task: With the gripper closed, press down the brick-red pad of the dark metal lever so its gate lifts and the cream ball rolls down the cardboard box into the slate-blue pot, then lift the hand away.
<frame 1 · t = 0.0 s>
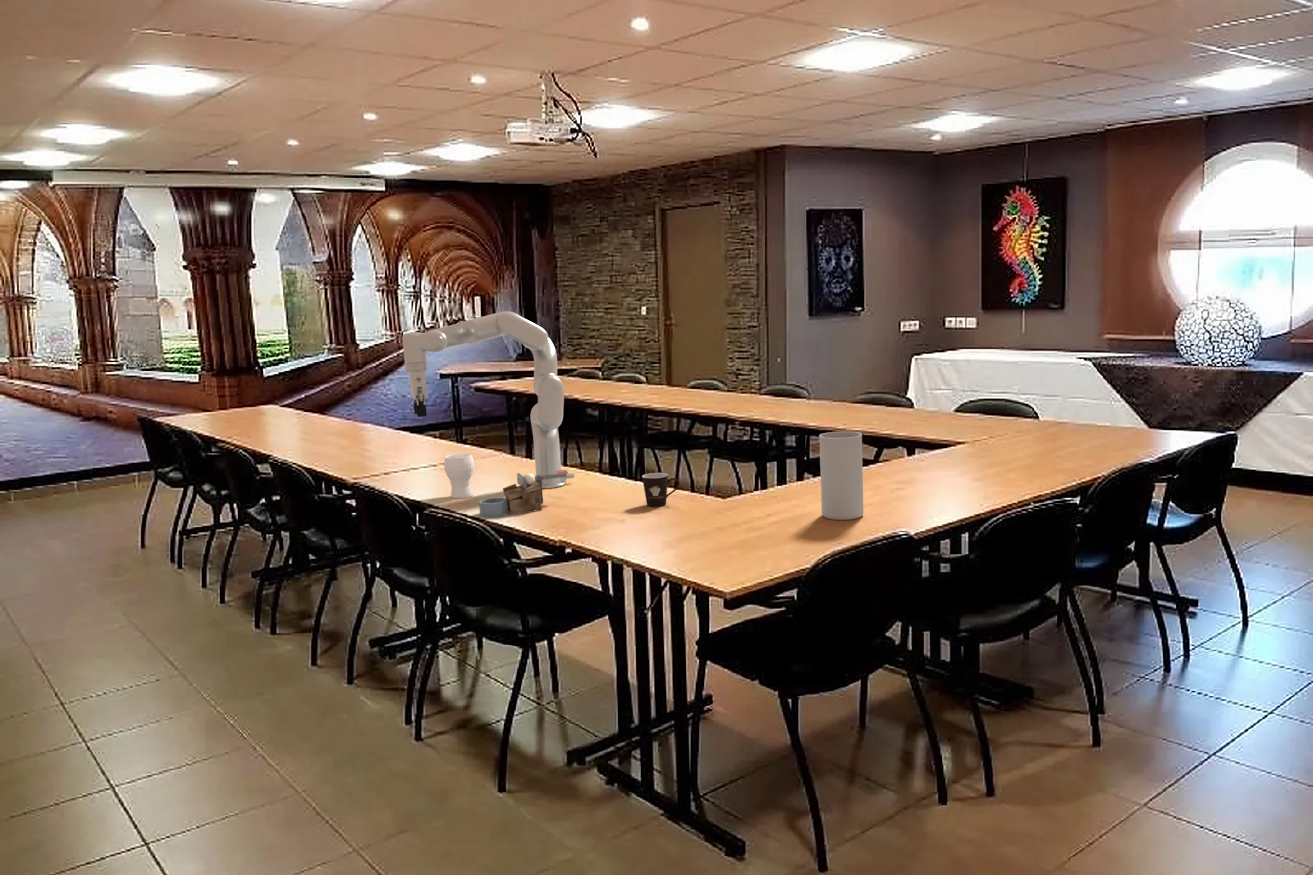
hand: (420, 415, 353), 31 cm above the table, tool pointing down, fingers open, 9 cm apart
cylinder vase: (842, 516, 300), on the table
lever: (544, 477, 335), point 10 cm above the table, hinge at 0.0°, touching ball
cup: (461, 496, 361), on the table
coffee mug: (660, 505, 328), on the table
cardboard box: (523, 510, 333), on the table
pot: (494, 513, 329), on the table
ball: (528, 479, 332), point 10 cm above the table, tilted 9°, touching lever, cardboard box
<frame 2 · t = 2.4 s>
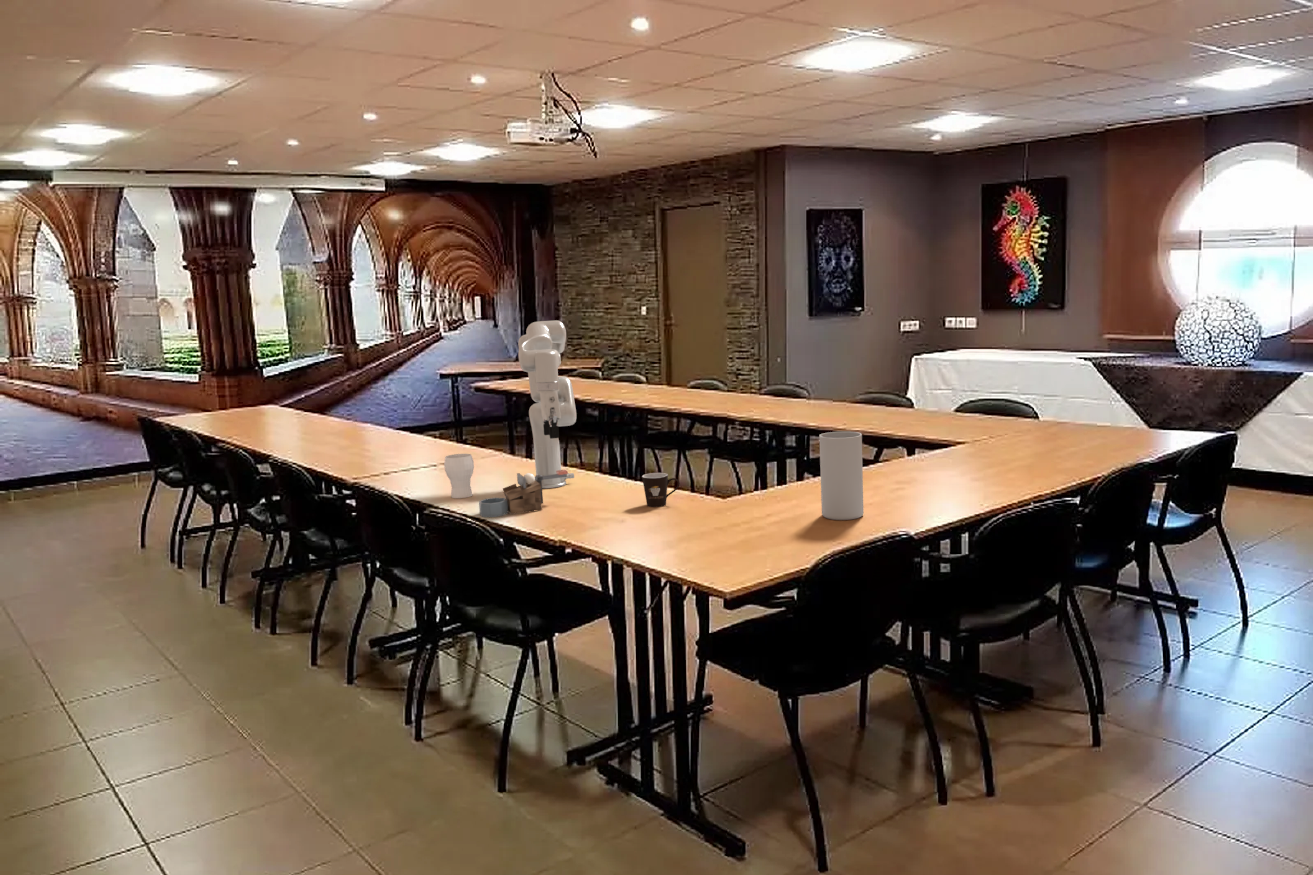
hand: (551, 436, 339), 23 cm above the table, tool pointing down, fingers open, 9 cm apart
nothing on the table moved.
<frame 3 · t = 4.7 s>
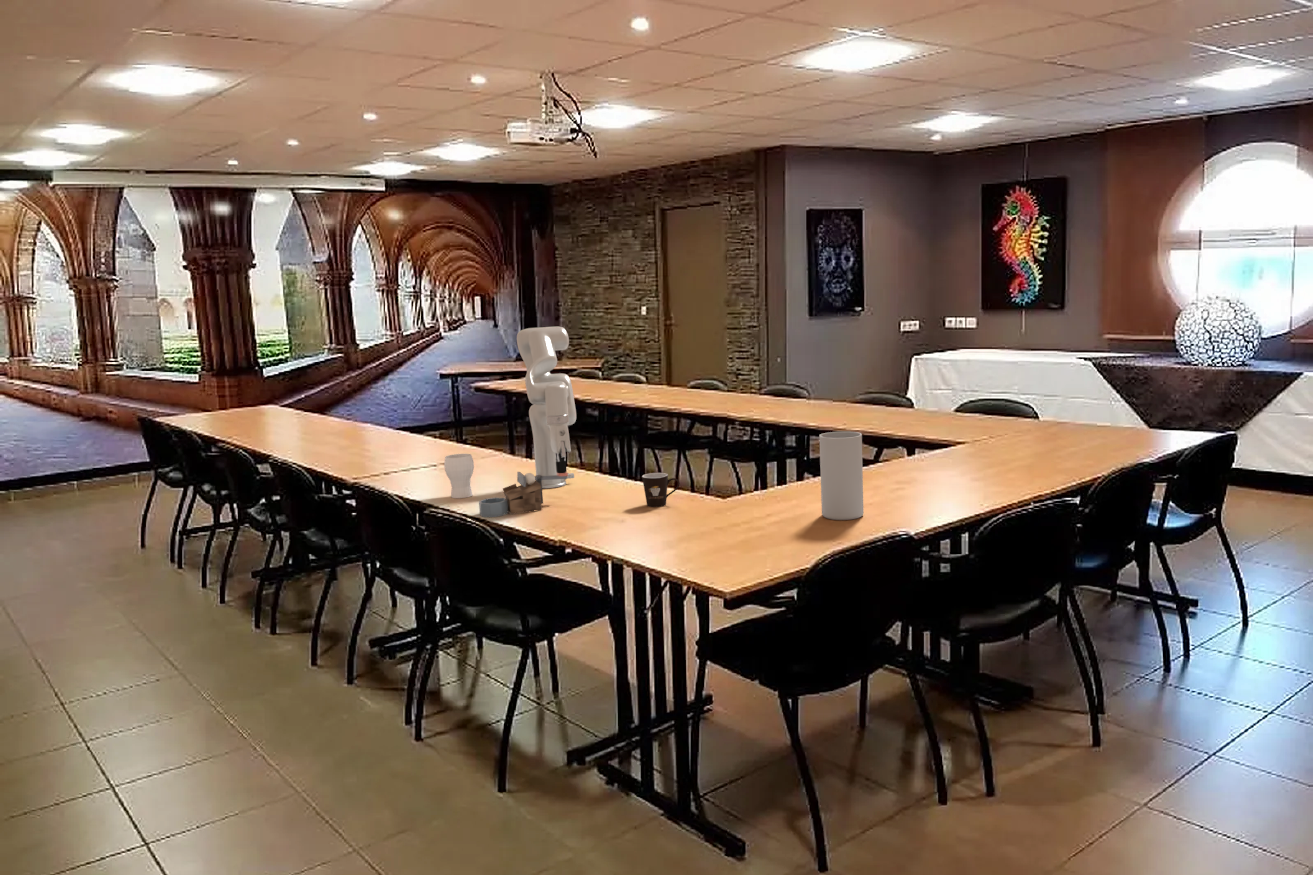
hand: (561, 472, 341), 10 cm above the table, tool pointing down, fingers closed
lever: (545, 477, 335), point 10 cm above the table, hinge at 4.4°, touching gripper
ball: (529, 478, 332), point 10 cm above the table, tilted 7°, touching cardboard box
everything else where it was.
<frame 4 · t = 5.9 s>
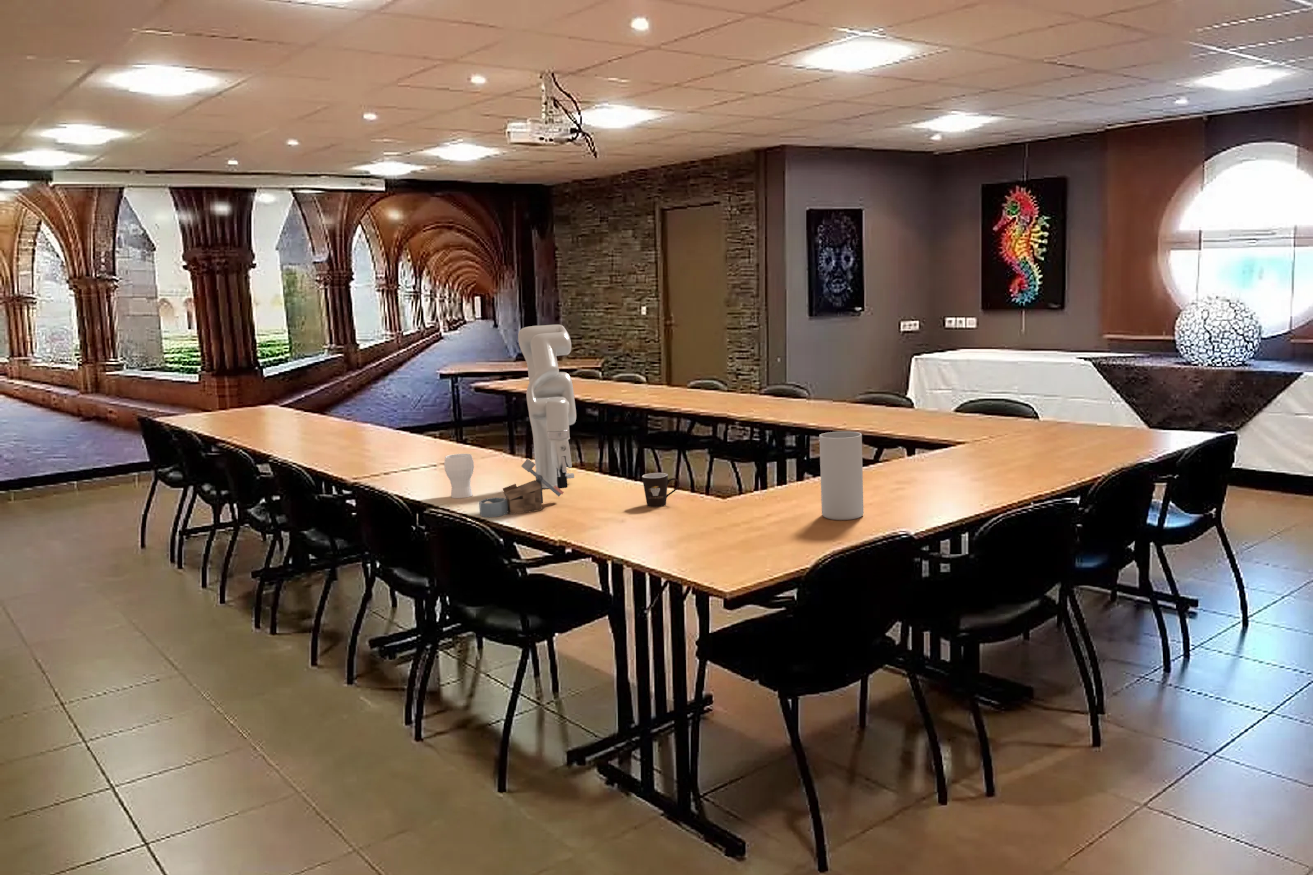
hand: (562, 487, 341), 5 cm above the table, tool pointing down, fingers closed
lever: (545, 480, 336), point 9 cm above the table, hinge at 45.9°, touching gripper
ball: (488, 507, 328), point 2 cm above the table, tilted 130°, touching pot
everything else where it was.
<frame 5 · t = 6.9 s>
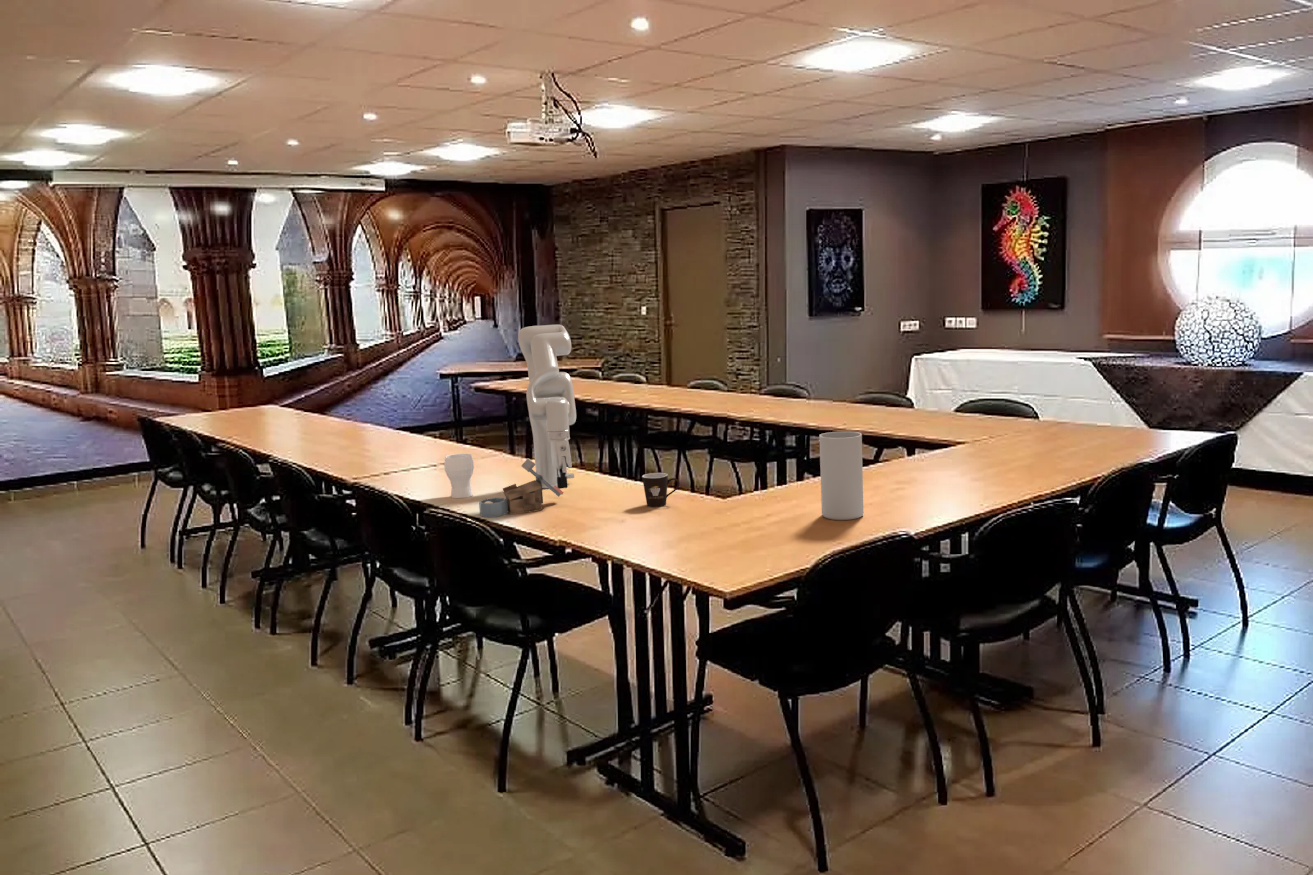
hand: (562, 487, 341), 5 cm above the table, tool pointing down, fingers closed
lever: (545, 480, 336), point 9 cm above the table, hinge at 46.4°, touching gripper
ball: (488, 507, 329), point 2 cm above the table, tilted 125°, touching pot
everything else where it was.
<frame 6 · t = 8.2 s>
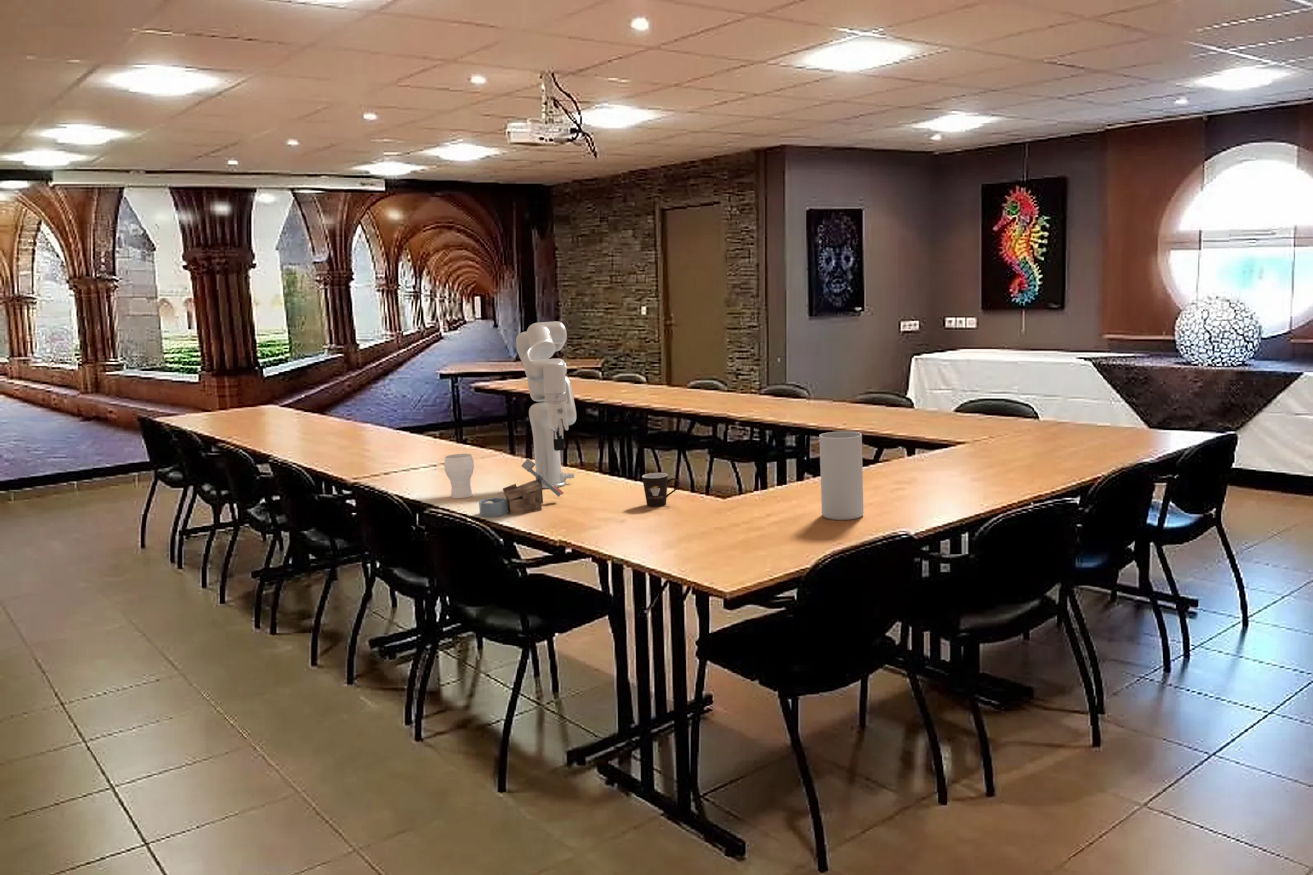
hand: (559, 449, 341), 18 cm above the table, tool pointing down, fingers closed
lever: (545, 480, 336), point 9 cm above the table, hinge at 46.4°
ball: (489, 507, 329), point 2 cm above the table, tilted 118°, touching pot
everything else where it was.
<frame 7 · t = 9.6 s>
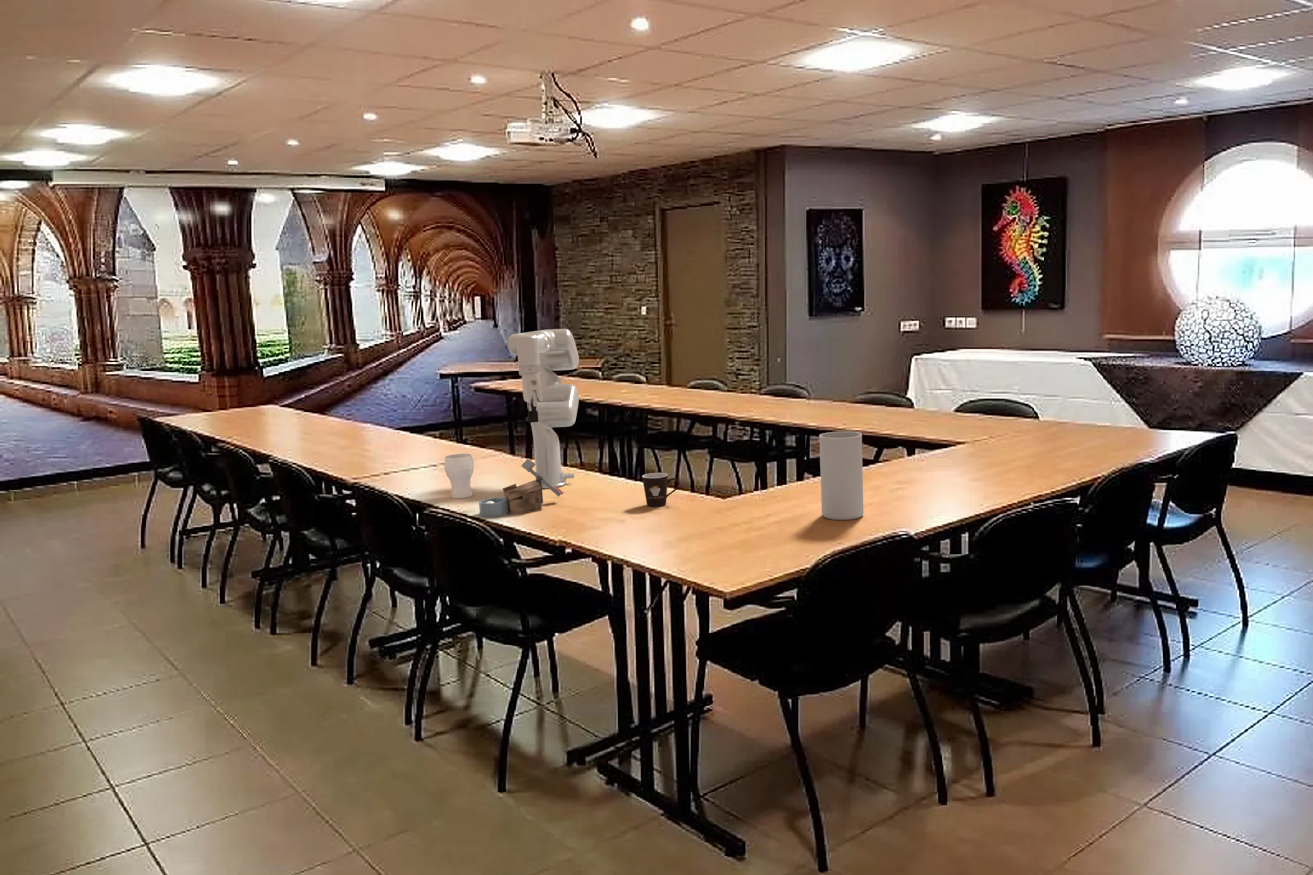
hand: (533, 421, 348), 27 cm above the table, tool pointing down, fingers closed
ball: (490, 506, 329), point 2 cm above the table, tilted 111°, touching pot
everything else where it was.
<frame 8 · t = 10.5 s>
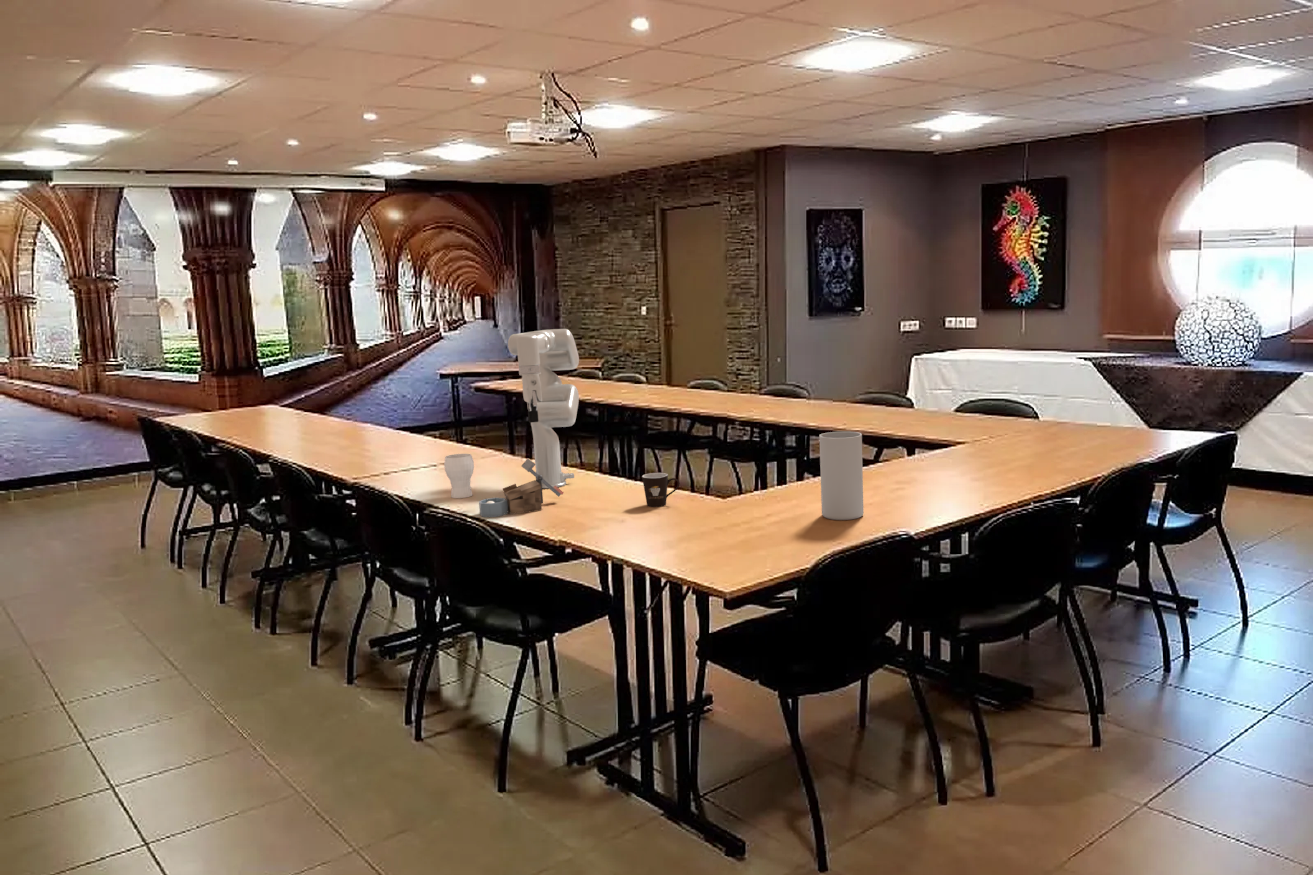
hand: (533, 421, 348), 27 cm above the table, tool pointing down, fingers closed
nothing on the table moved.
at the end: ball 0.9 cm off-centre on the pot, point 2.5 cm above the pot's base; ball touching pot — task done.
